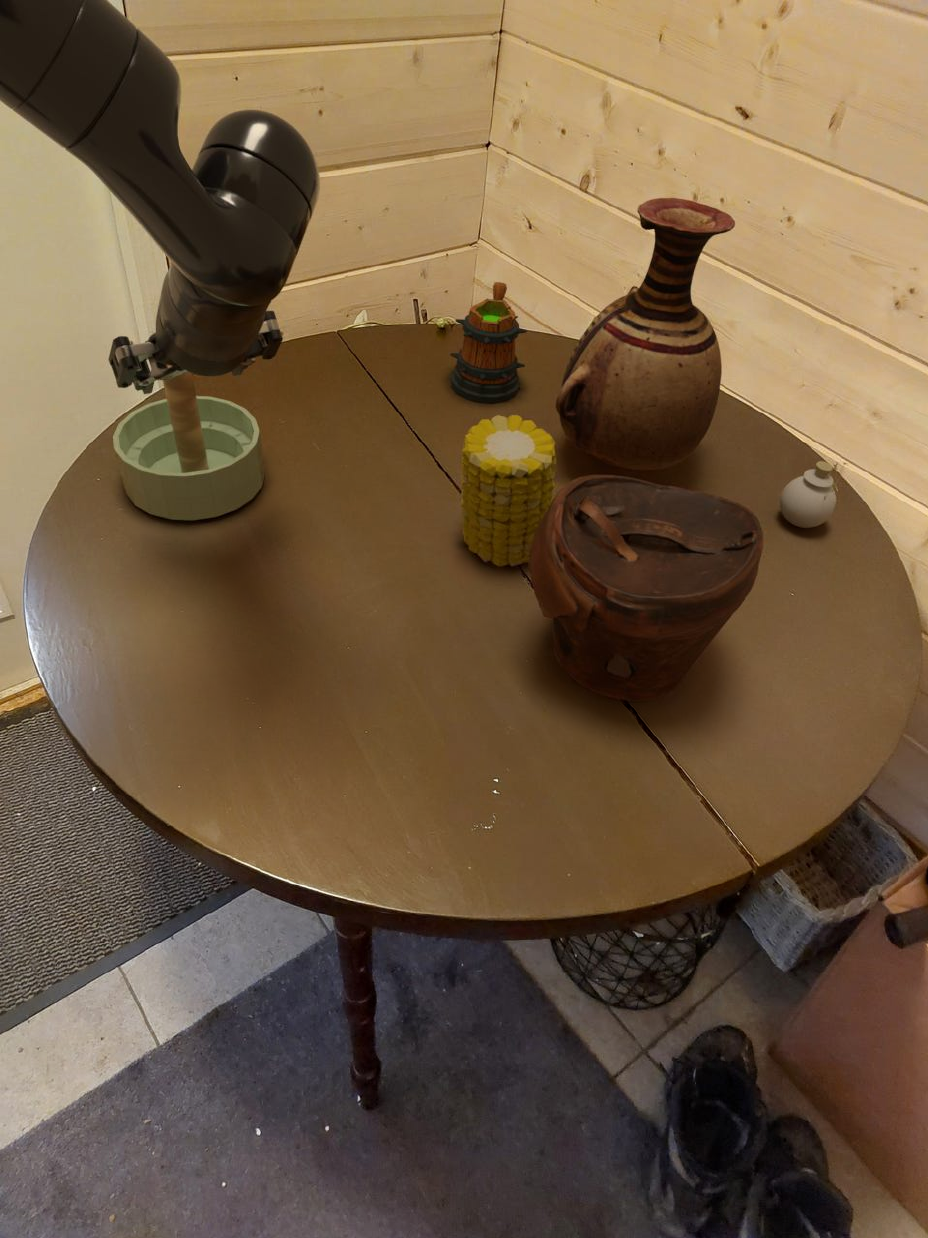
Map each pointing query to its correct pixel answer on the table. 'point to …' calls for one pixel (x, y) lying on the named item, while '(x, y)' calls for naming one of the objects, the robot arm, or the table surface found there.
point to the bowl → (157, 468)
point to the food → (505, 487)
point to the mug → (488, 351)
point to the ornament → (810, 497)
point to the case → (639, 579)
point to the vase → (649, 354)
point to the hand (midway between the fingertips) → (189, 374)
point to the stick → (186, 422)
